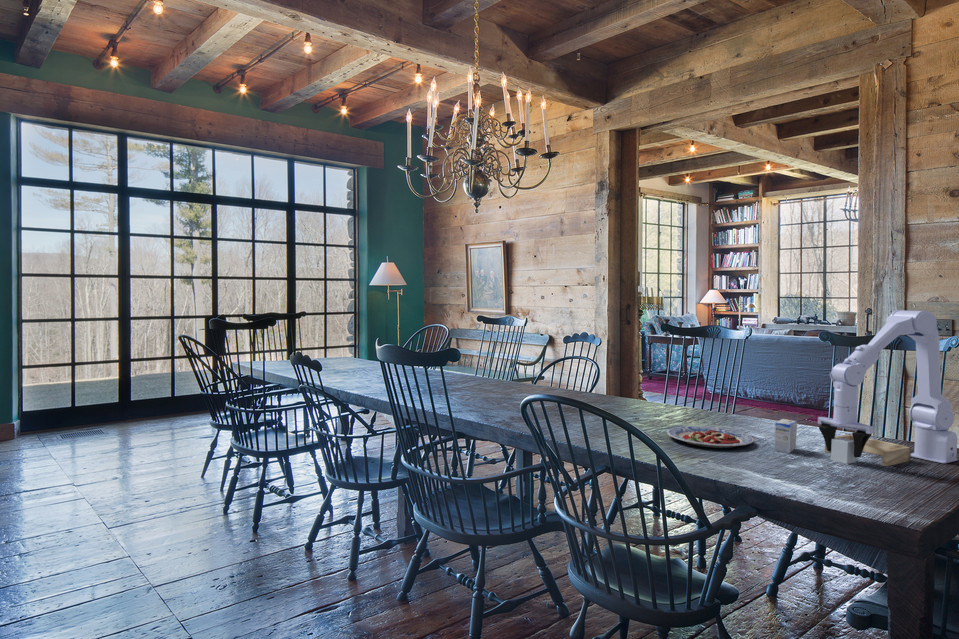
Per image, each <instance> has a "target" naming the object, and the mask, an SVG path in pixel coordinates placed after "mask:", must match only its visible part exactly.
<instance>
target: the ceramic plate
mask: <svg viewBox="0 0 959 639" xmlns="http://www.w3.org/2000/svg"><path fill="white" fill-rule="evenodd" d="M666 433H667V435H669V436H670V437H671V438H674V439H676V440H679V441H683V442H685V443H687V444H689V445H694V446H698V447H704V448H705V447H706V448H714V449H715V448H717V449H718V448H719V449H725V448H726V449H727V448H736V447H739V446H746V445H750V444H752V443H753V442H754V441H755V438H753V437H752V436H751V435H749V434H748V433H744V432H741V431H738V430H733V429H728V428H723V427H722V428H721V427H716V426H715V427H713V426H699V425H697V426H696V425H691V426H689V425H688V426H687V425H686V426H678V427H672V428H669V429H668V430H667V432H666Z"/></svg>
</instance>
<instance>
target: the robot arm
mask: <svg viewBox="0 0 959 639" xmlns="http://www.w3.org/2000/svg"><path fill="white" fill-rule="evenodd" d="M885 320H886V322H885V324H884V325H883V326H882V327H881V328H880V330H879V331H878V332H877V333H876V335H874V337H873V338H872V339H870V341H869V342H868V344H861V345H858V346H855V350H854V351H853V352H852V353H851V354H850V355H849V356H848V357H846V358H845V359H844V361H843V362H842V363H841V362H839V363H837V364H835V366H833V367H832V369H831V372H829V378H830V379H831V381H832V383H833V385H832V387H833V390H834V394H833V417H832V418H831V417H827V416H826V417H825V416H818V417H817V424H818V425H820V426H819V427H818V429H819V432H820V433H821V435H822V436H823V440H824V444H825V443H826V447H827V451H831V445H832V439H835V437H836V433H837V429H838V428H840V429H845V430H850V431H854V432H852V433H851V435H853V439H854V457H856V459H858V458H861V457H862V454H863V452H864V451H863V448H864V446H865V444H866V442H867V441H868V439H871V436H872V434H874V428H875V427H874V426H873V425H869V424H864V423H861V422H858V397H859V385H860V384H862V383H863V382H864V379H865V375H866V373H867V371H868V370H869V369H870V368H871V367H872V366H873V365H874V364H875V363H876V362H877V361H878V360H879V359H880V352H881V351H882V350H884V349H885V348H886V347H887V346H889V344H891V343H892V342H893V341H894V340H896V338H898V337H899V336H905V335H906V336H908V337H909V338H911V339H912V340H913V341H915V354H916V356H915V357H916V376H917V377H916V379H917V380H916V381H917V394H916V395H915V396H914V397H912V398H911V400H910V408H909V409H908V410H909V411H908V416H909V419H910V420H911V422H912V423H913V426H915V427H914V428H915V429H914V430H915V433H914V452H912V453H911V456H910V458H911V457H912V458H917V459H922V460H926V461H930V462H935V463H939V464H948V463H952V462H956V461H958V460H959V459H958V458H957V457H958V454H957V453H958V436H957V433H956V432H954V431H952V430H951V431H950V428H951V427H952V426H953V425H954V421H955V414H954V411H953V409H952V403H951V402H950V401H949V400H948V399H947V398H946V397H944V396H943V394H942V377H941V374H942V373H941V355H940V354H941V353H940V352H941V351H940V334H939V330H938V323H937V316H936V315H934V314H933V313H932V312H930V311H928V310H902V309H895V310H894V311H892V313H891V314H890V315H889V316H888V317H887V316H886V319H885Z"/></svg>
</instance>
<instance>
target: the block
mask: <svg viewBox="0 0 959 639" xmlns="http://www.w3.org/2000/svg"><path fill="white" fill-rule="evenodd" d="M830 461H832V462H833V461H834V462H837V463H840V464H845V465H850V464H854V463H857V458H856V457H854V440H849V439H845V438H836V439H832V445H831V452H830Z"/></svg>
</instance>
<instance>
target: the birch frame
mask: <svg viewBox="0 0 959 639" xmlns="http://www.w3.org/2000/svg"><path fill="white" fill-rule="evenodd" d="M836 438H845V439H849V440H854V439H853V435H852V434H850V433H849V434H845V435H837V436H835V439H836ZM911 451H912V447H911V446H909V445H907V446H906V445H903V444H898V443H892V442H888V441H885V440H884V441H883V440H877V439H874V438H869V439H868V441H867V442H866V444H865V446H864V448H863V451H862V452H864V453H868V454H873V455H878V456H882V458H881V459H882V460H881V461H882V463H881V466H885V467H889V466H893V465H898V464H903V463H908V462H911ZM824 452H826V453H831V451H827V447H826V443H825V442H824Z"/></svg>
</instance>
